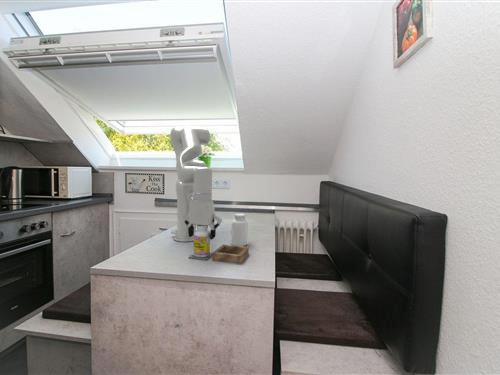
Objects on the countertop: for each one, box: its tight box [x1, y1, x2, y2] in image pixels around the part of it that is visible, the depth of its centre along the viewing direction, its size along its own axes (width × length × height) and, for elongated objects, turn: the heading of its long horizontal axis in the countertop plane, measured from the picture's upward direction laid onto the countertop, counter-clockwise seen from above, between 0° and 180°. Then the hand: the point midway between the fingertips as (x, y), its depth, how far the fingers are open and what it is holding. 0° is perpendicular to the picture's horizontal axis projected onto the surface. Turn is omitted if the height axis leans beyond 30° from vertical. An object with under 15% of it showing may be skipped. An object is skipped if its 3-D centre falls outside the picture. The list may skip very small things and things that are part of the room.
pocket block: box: [211, 244, 250, 265], centre depth 98 cm, size 12×12×3 cm
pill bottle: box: [230, 213, 249, 247], centre depth 116 cm, size 8×8×15 cm
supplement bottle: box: [193, 225, 211, 257], centre depth 98 cm, size 7×7×13 cm
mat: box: [188, 252, 213, 261], centre depth 98 cm, size 8×8×1 cm
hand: (201, 237), depth 98 cm, fingers open, 9 cm apart
